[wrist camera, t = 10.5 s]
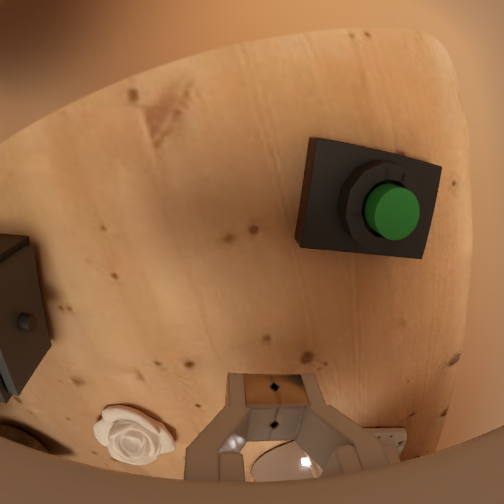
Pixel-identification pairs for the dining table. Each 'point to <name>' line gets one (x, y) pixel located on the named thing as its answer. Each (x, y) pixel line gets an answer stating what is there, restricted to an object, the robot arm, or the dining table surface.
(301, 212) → the control block
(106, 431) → the rose
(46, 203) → the dining table surface
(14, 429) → the stone
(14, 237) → the cabinet
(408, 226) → the button
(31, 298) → the drawer
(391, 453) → the robot arm
